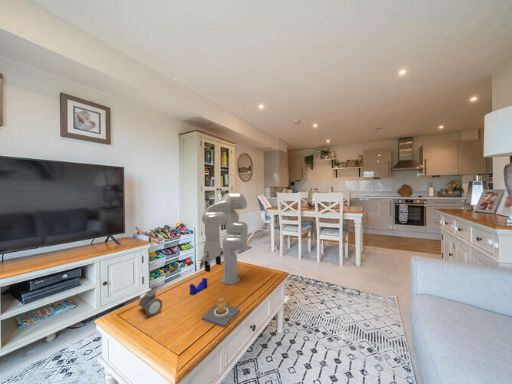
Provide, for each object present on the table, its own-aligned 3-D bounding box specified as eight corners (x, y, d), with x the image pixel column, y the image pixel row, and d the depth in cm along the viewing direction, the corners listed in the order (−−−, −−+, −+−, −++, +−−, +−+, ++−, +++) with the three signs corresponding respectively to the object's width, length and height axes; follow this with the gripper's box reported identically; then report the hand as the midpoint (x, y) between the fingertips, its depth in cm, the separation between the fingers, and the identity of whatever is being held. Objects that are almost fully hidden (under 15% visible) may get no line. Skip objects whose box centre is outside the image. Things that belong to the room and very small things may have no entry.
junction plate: (218, 304, 113) (218, 301, 113) (239, 311, 107) (239, 307, 107) (201, 319, 101) (201, 315, 101) (224, 327, 95) (224, 323, 95)
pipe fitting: (163, 311, 107) (162, 292, 107) (147, 319, 101) (147, 299, 101) (152, 304, 115) (151, 286, 114) (136, 311, 108) (136, 292, 108)
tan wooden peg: (220, 309, 107) (220, 295, 107) (226, 311, 105) (226, 297, 105) (215, 314, 103) (215, 299, 103) (222, 316, 101) (222, 301, 101)
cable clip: (202, 285, 137) (202, 277, 137) (207, 287, 134) (207, 278, 134) (188, 293, 126) (188, 284, 126) (193, 295, 124) (193, 285, 124)
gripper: (216, 232, 119) (216, 261, 119) (196, 240, 103) (197, 273, 104) (227, 233, 116) (227, 263, 116) (208, 242, 100) (208, 275, 101)
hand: (213, 267), depth 110 cm, fingers open, 9 cm apart
